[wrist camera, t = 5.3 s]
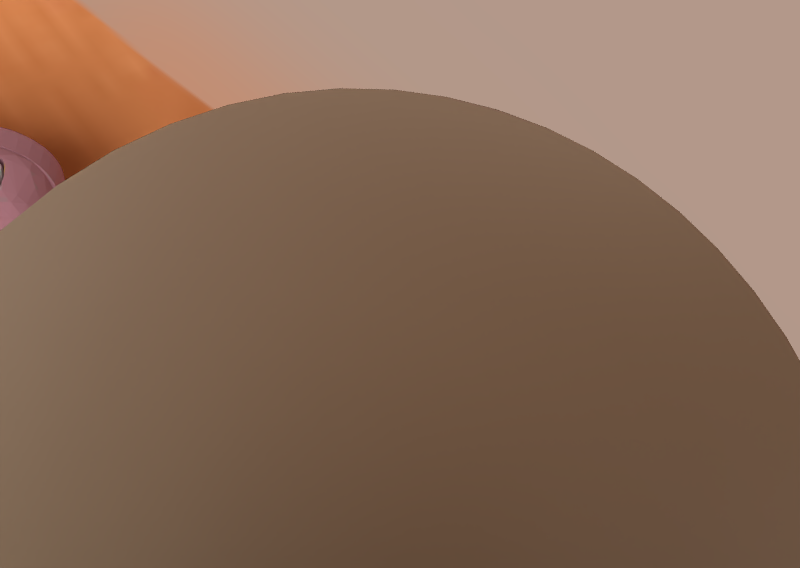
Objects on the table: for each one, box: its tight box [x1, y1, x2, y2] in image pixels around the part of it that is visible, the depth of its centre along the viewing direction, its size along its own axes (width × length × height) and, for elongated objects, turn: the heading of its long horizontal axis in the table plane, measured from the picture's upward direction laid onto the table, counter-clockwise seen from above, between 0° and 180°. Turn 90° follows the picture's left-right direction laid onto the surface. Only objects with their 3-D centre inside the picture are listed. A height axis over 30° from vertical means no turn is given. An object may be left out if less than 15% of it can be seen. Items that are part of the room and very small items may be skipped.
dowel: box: [0, 89, 800, 568], centre depth 8 cm, size 4×4×13 cm
